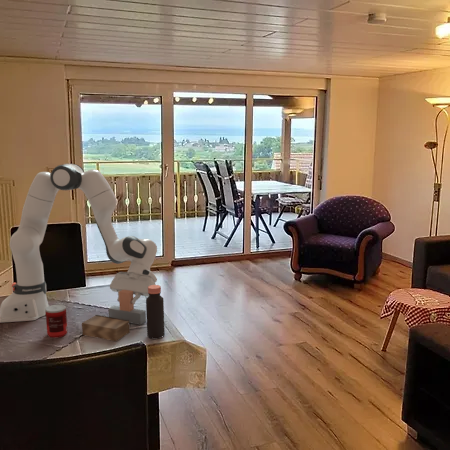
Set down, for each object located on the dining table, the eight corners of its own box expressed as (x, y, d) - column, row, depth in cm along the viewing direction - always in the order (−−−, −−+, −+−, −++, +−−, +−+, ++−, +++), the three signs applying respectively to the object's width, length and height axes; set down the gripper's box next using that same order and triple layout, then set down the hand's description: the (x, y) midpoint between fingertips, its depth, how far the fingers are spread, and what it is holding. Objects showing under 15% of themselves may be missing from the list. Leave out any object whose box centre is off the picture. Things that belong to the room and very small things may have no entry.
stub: (108, 319, 205) (107, 290, 202) (114, 315, 208) (113, 287, 206) (140, 324, 199) (139, 295, 196) (146, 321, 202) (144, 292, 200)
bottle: (148, 340, 184) (146, 290, 181) (146, 333, 191) (144, 284, 187) (166, 337, 186) (164, 288, 182) (163, 331, 193) (161, 283, 189)
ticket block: (82, 334, 189) (81, 322, 188) (96, 326, 197) (96, 314, 196) (116, 341, 183) (115, 328, 182) (129, 332, 191) (129, 320, 190)
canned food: (60, 328, 196) (58, 302, 194) (71, 333, 191) (70, 307, 189) (43, 334, 190) (41, 308, 188) (54, 339, 185) (52, 312, 183)
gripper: (114, 267, 210) (101, 295, 203) (154, 272, 202) (143, 302, 195) (120, 274, 215) (108, 302, 208) (160, 279, 207) (149, 308, 200)
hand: (125, 302), depth 201 cm, fingers closed on stub, 5 cm apart
